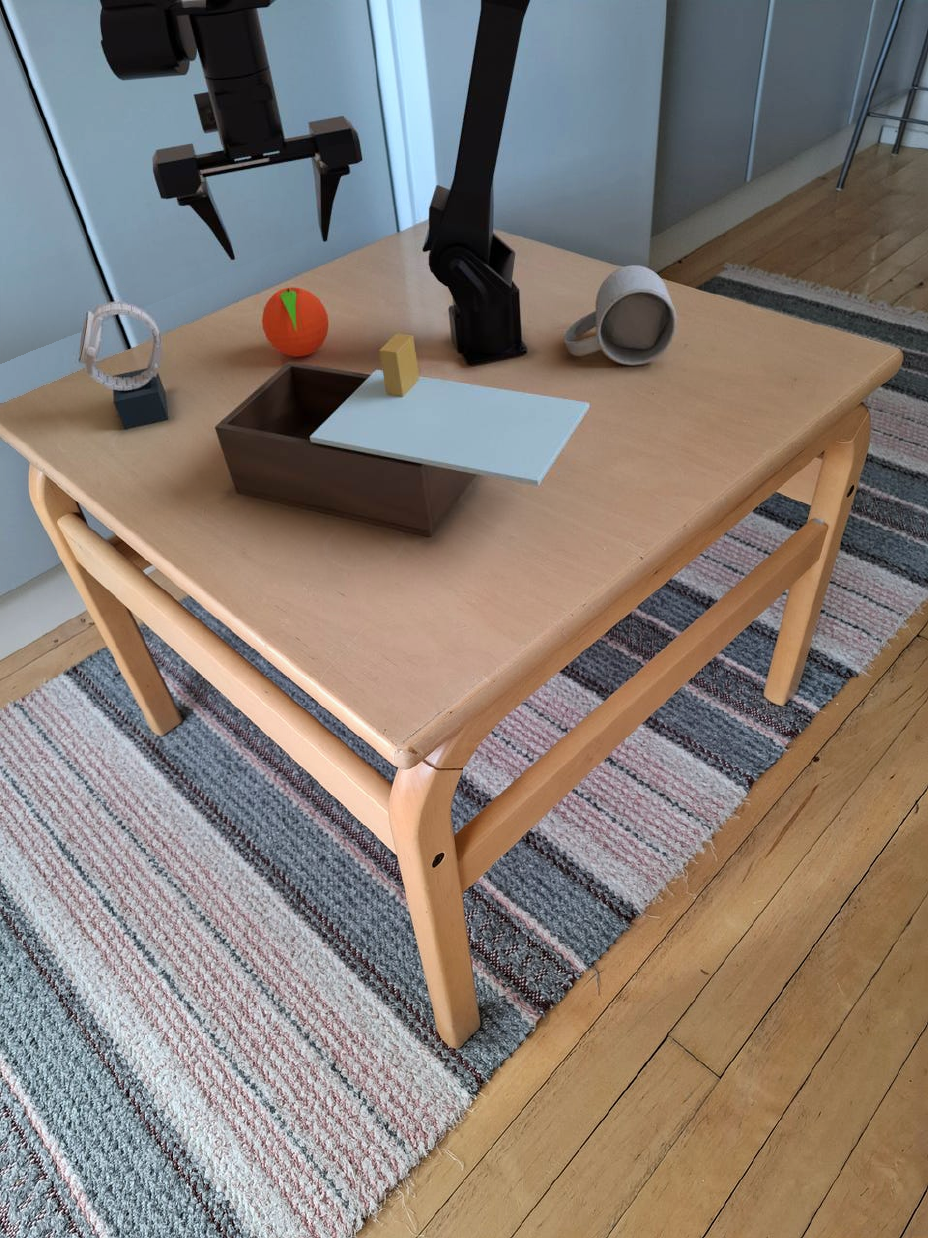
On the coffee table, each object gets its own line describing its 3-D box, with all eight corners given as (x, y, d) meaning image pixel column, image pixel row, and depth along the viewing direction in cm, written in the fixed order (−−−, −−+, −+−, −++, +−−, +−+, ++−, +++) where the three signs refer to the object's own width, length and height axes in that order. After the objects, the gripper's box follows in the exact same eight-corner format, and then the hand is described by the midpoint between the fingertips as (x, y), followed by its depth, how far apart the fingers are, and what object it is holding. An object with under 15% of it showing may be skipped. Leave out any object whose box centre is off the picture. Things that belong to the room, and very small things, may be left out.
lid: (377, 374, 79) (368, 325, 76) (589, 408, 72) (589, 355, 68) (310, 442, 72) (298, 391, 69) (538, 486, 65) (535, 432, 62)
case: (304, 425, 87) (288, 361, 82) (488, 460, 80) (482, 391, 75) (236, 493, 80) (214, 426, 75) (430, 537, 73) (420, 467, 68)
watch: (104, 407, 93) (61, 305, 86) (182, 389, 94) (147, 287, 87) (104, 434, 89) (60, 330, 82) (186, 415, 90) (149, 311, 83)
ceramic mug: (664, 324, 95) (667, 251, 89) (675, 363, 89) (679, 287, 84) (562, 333, 96) (560, 262, 90) (566, 372, 90) (564, 298, 85)
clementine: (339, 366, 95) (325, 301, 90) (273, 378, 94) (256, 313, 89) (330, 332, 101) (317, 269, 96) (268, 344, 100) (252, 281, 95)
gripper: (327, 34, 86) (356, 204, 96) (129, 68, 83) (182, 238, 94) (347, 59, 78) (376, 241, 89) (128, 97, 75) (186, 280, 86)
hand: (279, 249), depth 90 cm, fingers open, 9 cm apart
